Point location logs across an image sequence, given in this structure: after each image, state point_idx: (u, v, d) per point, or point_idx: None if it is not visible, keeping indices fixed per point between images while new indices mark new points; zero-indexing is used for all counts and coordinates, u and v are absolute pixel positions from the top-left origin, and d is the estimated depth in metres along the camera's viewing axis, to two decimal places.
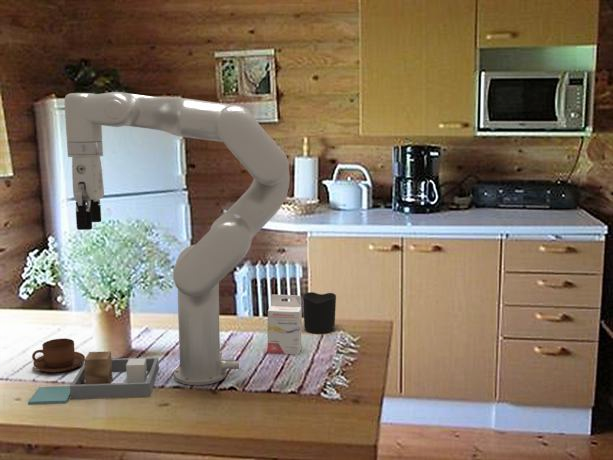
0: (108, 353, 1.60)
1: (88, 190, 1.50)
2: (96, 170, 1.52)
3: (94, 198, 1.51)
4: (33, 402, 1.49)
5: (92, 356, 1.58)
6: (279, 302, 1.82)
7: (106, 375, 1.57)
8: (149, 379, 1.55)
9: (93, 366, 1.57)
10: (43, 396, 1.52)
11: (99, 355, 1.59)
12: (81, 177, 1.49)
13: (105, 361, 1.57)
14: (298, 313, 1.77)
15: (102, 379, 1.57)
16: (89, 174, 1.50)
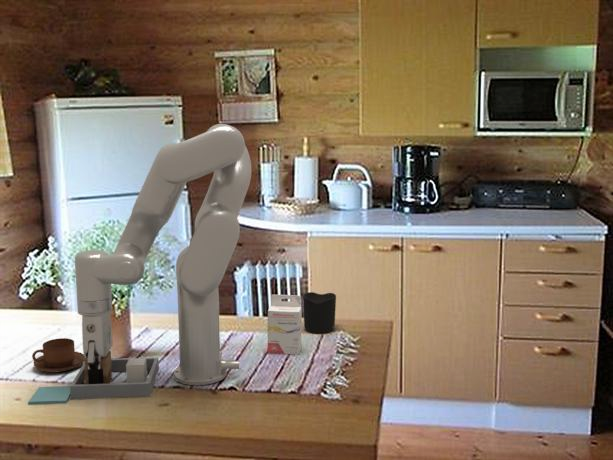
0: (108, 353, 1.60)
1: (98, 348, 1.53)
2: (106, 326, 1.56)
3: (103, 355, 1.54)
4: (33, 402, 1.49)
5: None
6: (279, 302, 1.81)
7: (106, 375, 1.57)
8: (149, 379, 1.55)
9: None
10: (43, 396, 1.52)
11: None
12: (91, 336, 1.53)
13: (105, 361, 1.57)
14: (298, 313, 1.77)
15: None
16: (99, 333, 1.53)
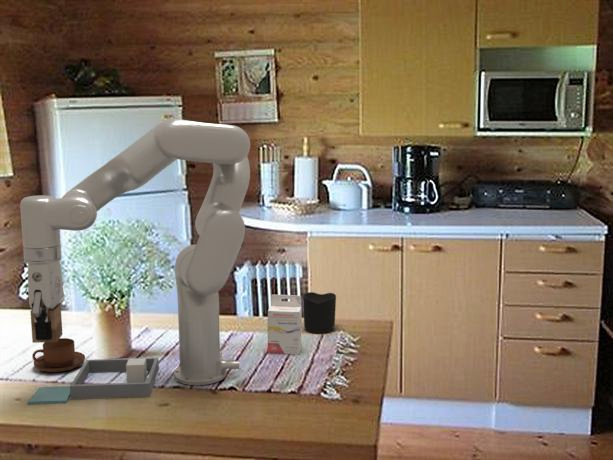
0: (57, 305, 1.51)
1: (44, 298, 1.44)
2: (54, 276, 1.47)
3: (51, 306, 1.45)
4: (33, 402, 1.49)
5: None
6: (279, 302, 1.81)
7: (54, 328, 1.48)
8: (149, 379, 1.55)
9: None
10: (43, 396, 1.52)
11: None
12: (37, 285, 1.44)
13: (53, 313, 1.48)
14: (298, 313, 1.77)
15: None
16: (45, 282, 1.44)
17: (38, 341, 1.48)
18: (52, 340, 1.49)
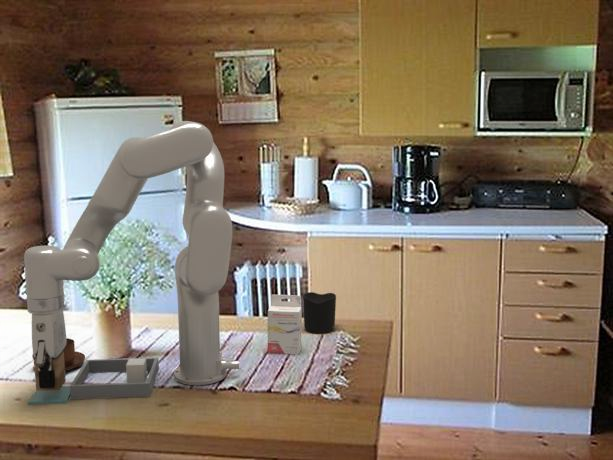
0: (60, 353, 1.53)
1: (48, 348, 1.46)
2: (57, 325, 1.48)
3: (54, 356, 1.47)
4: (33, 402, 1.49)
5: None
6: (279, 302, 1.81)
7: (57, 376, 1.50)
8: (149, 379, 1.55)
9: None
10: (43, 396, 1.52)
11: None
12: (41, 335, 1.46)
13: (56, 362, 1.49)
14: (298, 313, 1.77)
15: None
16: (49, 332, 1.46)
17: (41, 389, 1.50)
18: (55, 388, 1.51)
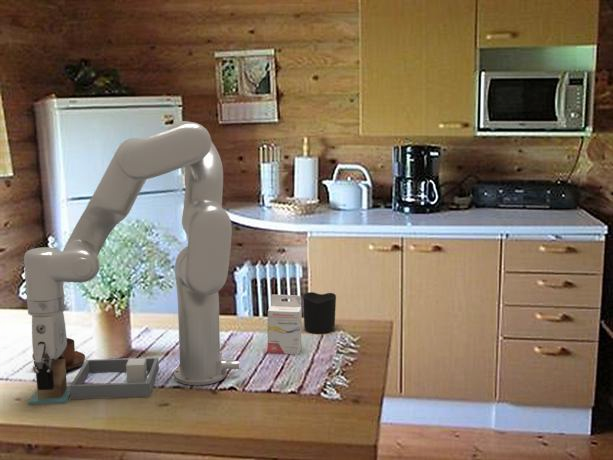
0: (61, 361, 1.53)
1: (48, 350, 1.46)
2: (57, 327, 1.49)
3: (55, 357, 1.47)
4: (33, 402, 1.49)
5: None
6: (279, 302, 1.81)
7: (59, 384, 1.51)
8: (149, 379, 1.55)
9: None
10: None
11: (52, 363, 1.52)
12: (41, 337, 1.46)
13: (57, 369, 1.50)
14: (298, 313, 1.77)
15: (55, 388, 1.51)
16: (49, 334, 1.46)
17: (43, 397, 1.51)
18: (57, 396, 1.51)
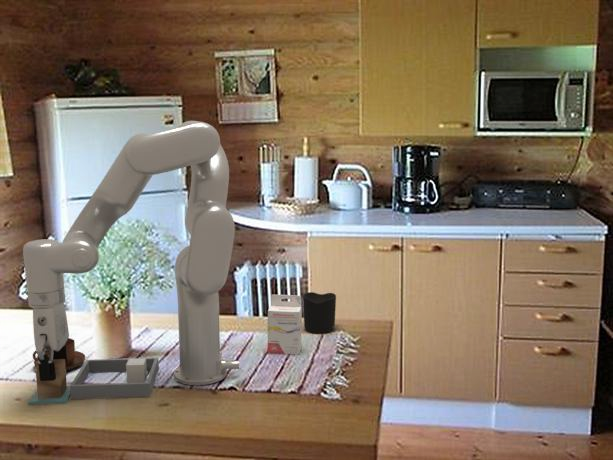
0: (61, 361, 1.53)
1: (50, 341, 1.46)
2: (59, 319, 1.48)
3: (57, 349, 1.47)
4: (33, 402, 1.49)
5: None
6: (279, 302, 1.81)
7: (59, 384, 1.51)
8: (149, 379, 1.55)
9: None
10: None
11: None
12: (42, 329, 1.46)
13: (57, 369, 1.50)
14: (298, 313, 1.77)
15: (55, 388, 1.51)
16: (50, 325, 1.46)
17: (43, 397, 1.51)
18: (57, 396, 1.51)
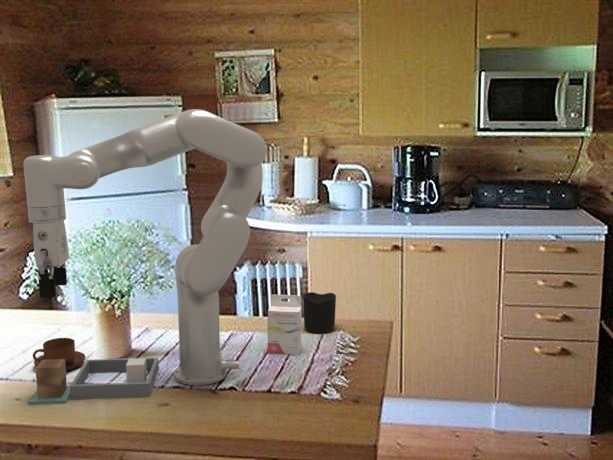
0: (61, 361, 1.53)
1: (50, 257, 1.44)
2: (59, 235, 1.46)
3: (57, 265, 1.45)
4: (33, 402, 1.49)
5: (44, 364, 1.51)
6: (279, 302, 1.81)
7: (59, 384, 1.51)
8: (149, 379, 1.55)
9: (45, 374, 1.50)
10: None
11: (52, 363, 1.52)
12: (43, 244, 1.44)
13: (57, 369, 1.50)
14: (298, 313, 1.77)
15: (55, 388, 1.51)
16: (51, 240, 1.44)
17: (43, 397, 1.51)
18: (57, 396, 1.51)
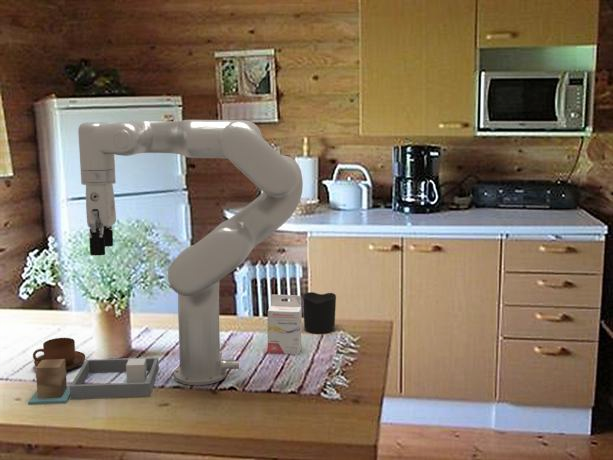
0: (61, 361, 1.53)
1: (101, 217, 1.54)
2: (109, 197, 1.56)
3: (107, 225, 1.55)
4: (33, 402, 1.49)
5: (44, 364, 1.51)
6: (279, 302, 1.81)
7: (59, 384, 1.51)
8: (149, 379, 1.55)
9: (45, 374, 1.50)
10: None
11: (52, 363, 1.52)
12: (95, 204, 1.54)
13: (57, 369, 1.50)
14: (298, 313, 1.77)
15: (55, 388, 1.51)
16: (102, 201, 1.54)
17: (43, 397, 1.51)
18: (57, 396, 1.51)
